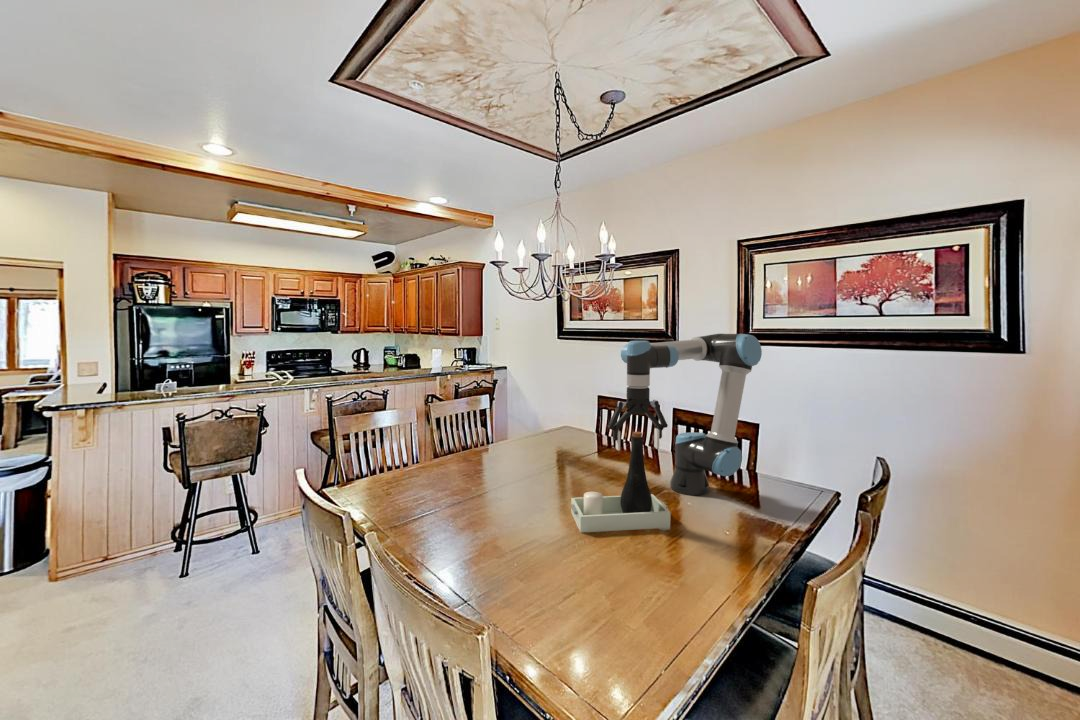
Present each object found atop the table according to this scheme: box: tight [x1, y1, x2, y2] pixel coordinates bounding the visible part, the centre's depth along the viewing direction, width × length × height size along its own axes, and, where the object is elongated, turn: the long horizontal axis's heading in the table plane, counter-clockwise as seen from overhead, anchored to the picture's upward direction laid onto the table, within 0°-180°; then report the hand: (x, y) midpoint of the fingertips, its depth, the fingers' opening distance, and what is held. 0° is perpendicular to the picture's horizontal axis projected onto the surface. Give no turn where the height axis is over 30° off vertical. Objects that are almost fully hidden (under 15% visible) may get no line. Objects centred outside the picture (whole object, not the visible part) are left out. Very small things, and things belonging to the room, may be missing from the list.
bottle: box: [620, 431, 652, 513], centre depth 155 cm, size 11×11×30 cm
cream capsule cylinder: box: [583, 491, 604, 515], centre depth 154 cm, size 6×6×9 cm
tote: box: [570, 493, 672, 534], centre depth 156 cm, size 32×16×6 cm, turn 97°
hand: (637, 448), depth 155 cm, fingers open, 13 cm apart
